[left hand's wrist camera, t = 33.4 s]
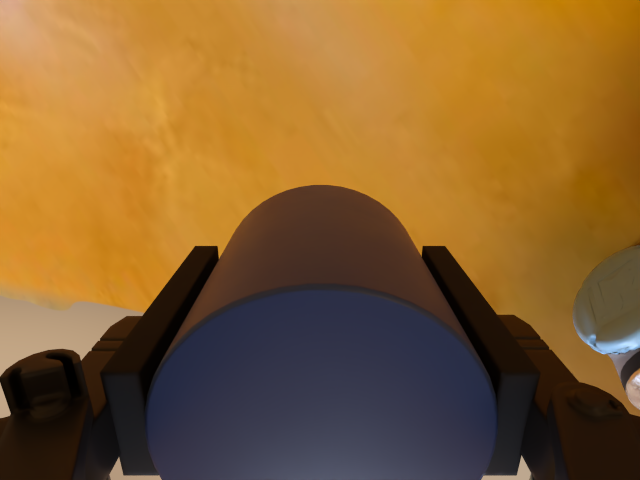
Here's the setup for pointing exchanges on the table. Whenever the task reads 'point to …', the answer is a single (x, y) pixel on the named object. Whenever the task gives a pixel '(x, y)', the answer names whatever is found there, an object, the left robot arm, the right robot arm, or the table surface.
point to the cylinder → (321, 357)
